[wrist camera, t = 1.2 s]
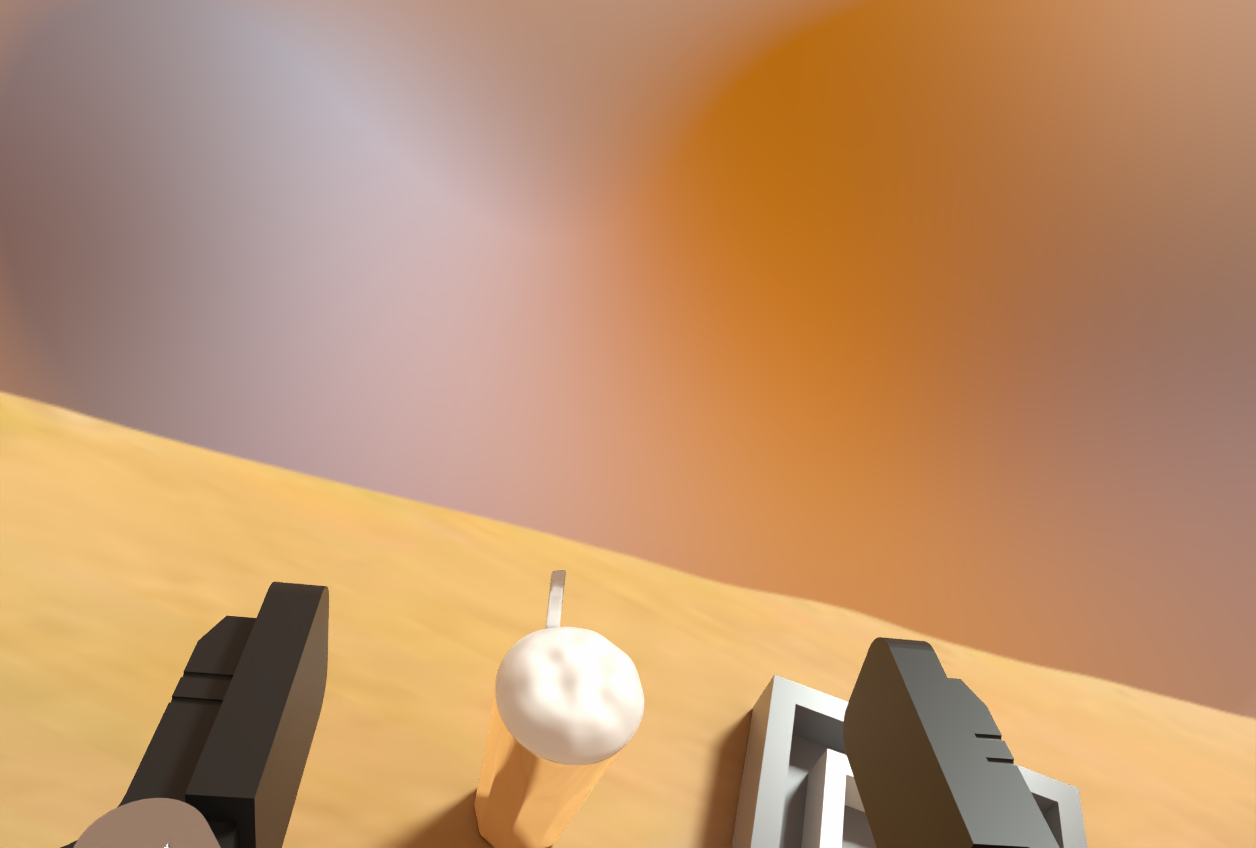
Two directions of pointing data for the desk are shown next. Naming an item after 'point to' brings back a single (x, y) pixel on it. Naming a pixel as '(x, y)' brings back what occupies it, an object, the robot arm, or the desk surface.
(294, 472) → the desk surface
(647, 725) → the desk surface
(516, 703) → the milkshake
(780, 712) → the dock box
